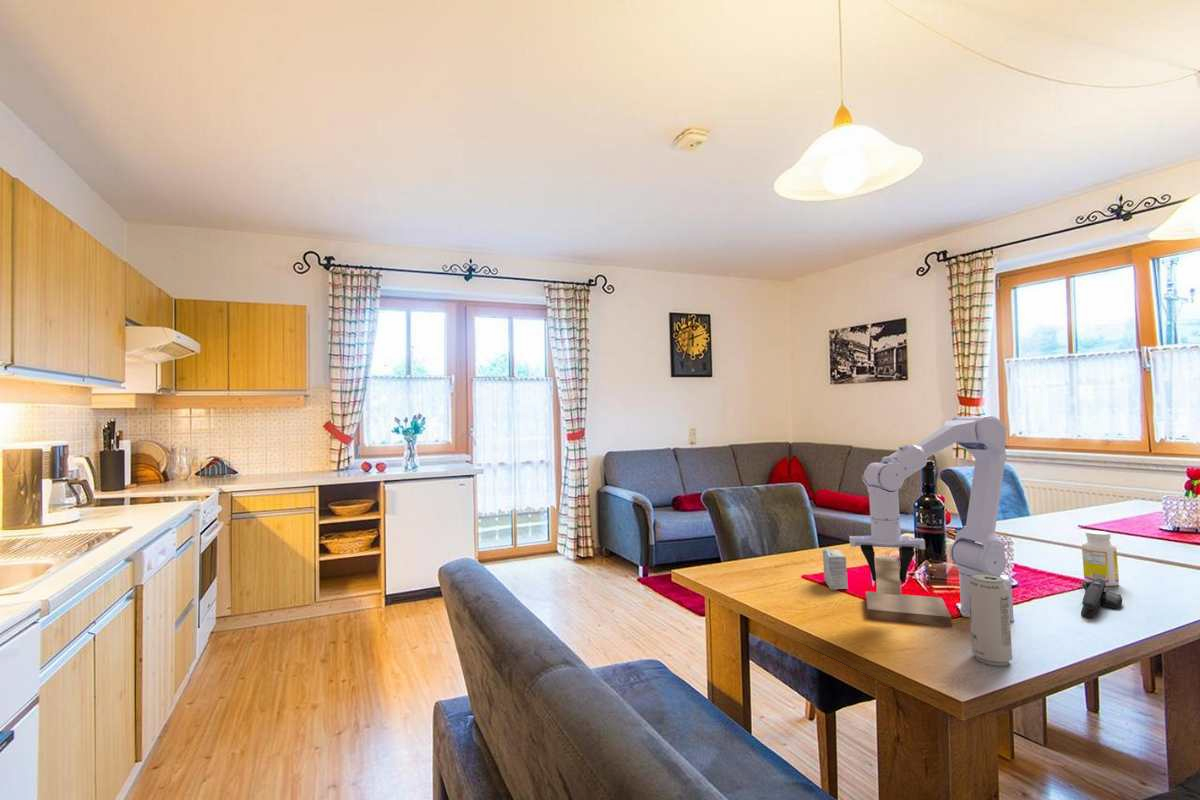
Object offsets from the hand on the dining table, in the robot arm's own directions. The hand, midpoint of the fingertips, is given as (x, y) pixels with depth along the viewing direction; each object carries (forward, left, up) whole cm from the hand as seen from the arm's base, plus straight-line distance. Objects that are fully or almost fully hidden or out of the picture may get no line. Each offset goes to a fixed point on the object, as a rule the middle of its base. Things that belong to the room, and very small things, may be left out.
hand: (888, 580), depth 121 cm
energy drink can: (-16, +14, -9) cm, 23 cm away
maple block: (0, 0, -2) cm, 2 cm away
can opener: (-42, -23, -10) cm, 49 cm away
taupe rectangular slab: (-4, -8, -9) cm, 13 cm away
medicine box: (+11, -24, -9) cm, 28 cm away
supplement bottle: (-51, -45, -9) cm, 68 cm away
